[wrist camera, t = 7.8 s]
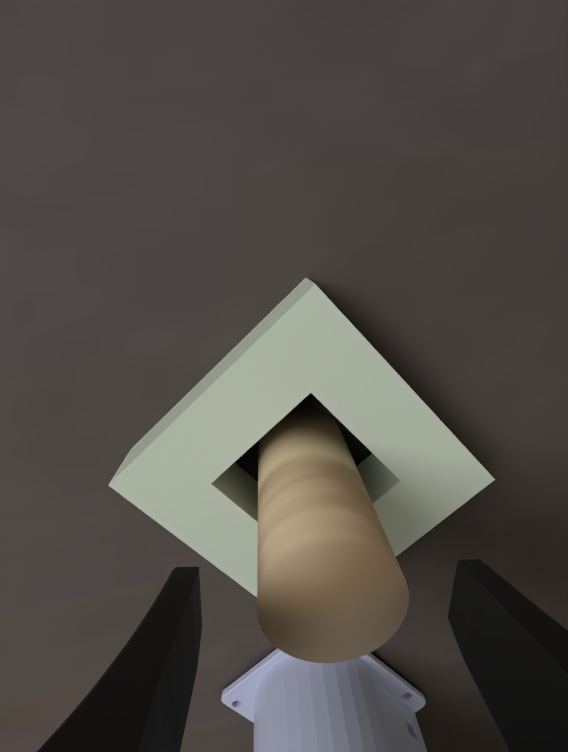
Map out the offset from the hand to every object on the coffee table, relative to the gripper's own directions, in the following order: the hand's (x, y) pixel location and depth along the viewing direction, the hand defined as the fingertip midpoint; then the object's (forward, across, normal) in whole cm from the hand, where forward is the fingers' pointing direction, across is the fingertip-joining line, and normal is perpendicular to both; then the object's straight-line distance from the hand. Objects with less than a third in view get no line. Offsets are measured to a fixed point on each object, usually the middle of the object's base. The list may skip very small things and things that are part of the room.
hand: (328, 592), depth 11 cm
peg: (+8, 0, 0) cm, 8 cm away
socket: (+8, 0, 0) cm, 8 cm away
